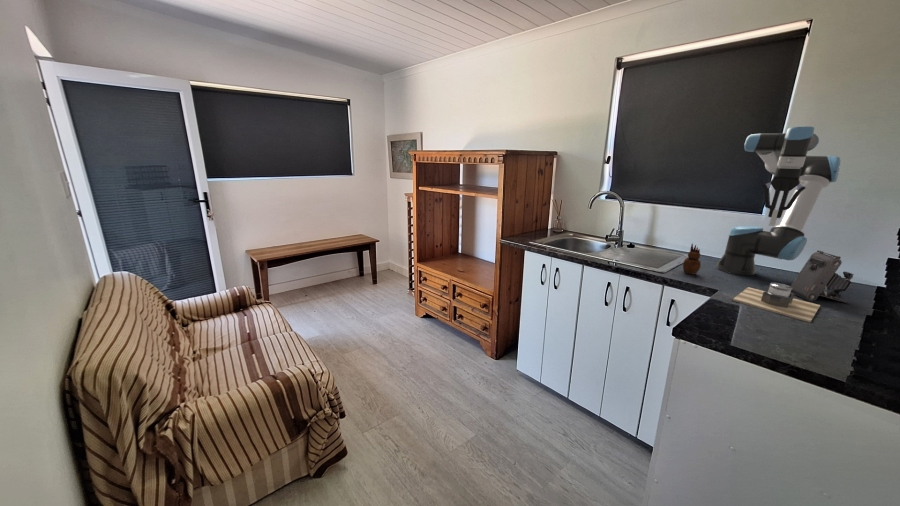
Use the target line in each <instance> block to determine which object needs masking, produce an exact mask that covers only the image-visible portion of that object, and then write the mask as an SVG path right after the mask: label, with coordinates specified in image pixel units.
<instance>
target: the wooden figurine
mask: <svg viewBox="0 0 900 506" xmlns="http://www.w3.org/2000/svg"><path fill="white" fill-rule="evenodd" d="M689 250H690V251H689V252H688V254H687V258H685V259H684V261H683V264H682V268H683V272H684V273H687V274H688V273H689V275H695V274H697V273H698V272H699V271H700V269H701V264H702V263H701V260H699V259H700V258H701V253H700V252H701V251H700V248H699V247H697V244H695V245H694V244H693V243H691V246H690V249H689Z"/></svg>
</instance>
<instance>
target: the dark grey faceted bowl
mask: <svg viewBox="0 0 900 506" xmlns="http://www.w3.org/2000/svg"><path fill="white" fill-rule="evenodd" d="M769 288H770V286H768V287H767V291H766V292H763V295H762V299H761V301H762V302H765V303H767V304H770V305H774V306H778V307H784V308H788V305H789V303H792V300H793V298H794V297H795V296H796V295H795V294H794V293H791V292H790V295H789V297H786V296H779V295H775V294H772V293H770V292H768V291H769Z"/></svg>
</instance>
